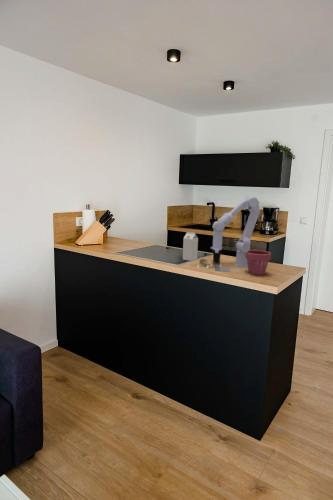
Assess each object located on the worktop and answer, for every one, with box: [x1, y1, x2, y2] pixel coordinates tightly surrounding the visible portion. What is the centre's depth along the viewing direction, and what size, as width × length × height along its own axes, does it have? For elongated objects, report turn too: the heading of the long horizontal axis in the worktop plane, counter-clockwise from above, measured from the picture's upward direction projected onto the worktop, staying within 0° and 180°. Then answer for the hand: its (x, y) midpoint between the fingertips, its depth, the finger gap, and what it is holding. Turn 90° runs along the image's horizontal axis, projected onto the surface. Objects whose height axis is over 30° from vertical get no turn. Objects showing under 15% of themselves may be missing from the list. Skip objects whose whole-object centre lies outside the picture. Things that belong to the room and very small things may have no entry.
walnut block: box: [212, 255, 221, 265], centre depth 216 cm, size 4×4×5 cm
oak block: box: [198, 257, 208, 268], centre depth 212 cm, size 4×4×5 cm
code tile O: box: [196, 264, 210, 269], centre depth 213 cm, size 7×7×1 cm
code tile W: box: [210, 263, 223, 268], centre depth 216 cm, size 7×7×1 cm
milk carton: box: [182, 231, 199, 262], centre depth 230 cm, size 7×7×19 cm
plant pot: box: [245, 249, 272, 276], centre depth 200 cm, size 14×14×13 cm
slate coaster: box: [214, 267, 231, 273], centre depth 206 cm, size 9×9×1 cm
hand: (216, 261), depth 216 cm, fingers closed on walnut block, 4 cm apart
